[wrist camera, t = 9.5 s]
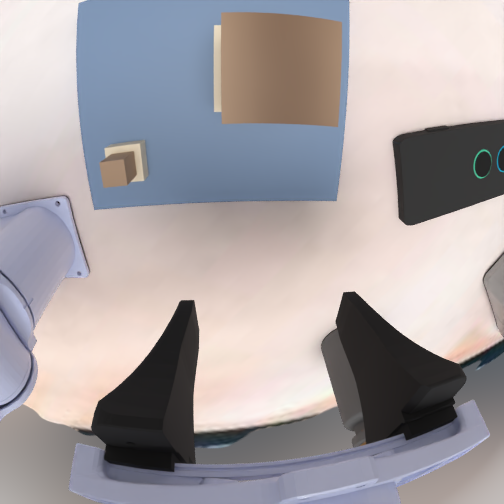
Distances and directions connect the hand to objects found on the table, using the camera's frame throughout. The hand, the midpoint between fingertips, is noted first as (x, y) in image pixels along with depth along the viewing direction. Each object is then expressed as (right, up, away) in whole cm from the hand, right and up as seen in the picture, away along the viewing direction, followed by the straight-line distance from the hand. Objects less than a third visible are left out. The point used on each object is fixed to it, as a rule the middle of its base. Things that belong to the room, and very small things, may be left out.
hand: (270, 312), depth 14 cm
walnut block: (0, +12, -1) cm, 12 cm away
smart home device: (+21, +12, +8) cm, 25 cm away
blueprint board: (-4, +14, +3) cm, 15 cm away
